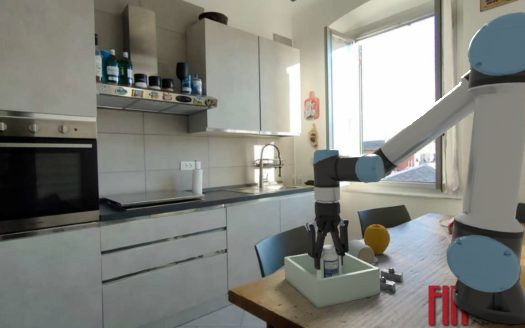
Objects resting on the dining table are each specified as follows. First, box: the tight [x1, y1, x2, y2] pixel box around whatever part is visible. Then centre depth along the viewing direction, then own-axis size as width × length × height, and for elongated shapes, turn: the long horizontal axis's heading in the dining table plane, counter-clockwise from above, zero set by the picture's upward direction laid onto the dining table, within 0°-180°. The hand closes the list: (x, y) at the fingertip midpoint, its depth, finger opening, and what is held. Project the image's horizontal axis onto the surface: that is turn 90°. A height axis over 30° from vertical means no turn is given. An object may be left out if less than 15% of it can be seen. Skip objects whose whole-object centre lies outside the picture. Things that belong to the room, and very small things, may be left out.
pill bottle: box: [321, 244, 338, 278], centre depth 86 cm, size 5×5×10 cm
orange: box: [363, 223, 391, 256], centre depth 113 cm, size 10×10×12 cm
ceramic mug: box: [347, 239, 379, 265], centre depth 104 cm, size 11×8×8 cm
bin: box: [283, 251, 381, 310], centre depth 86 cm, size 20×20×7 cm
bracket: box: [380, 267, 404, 293], centre depth 87 cm, size 11×6×3 cm, turn 140°
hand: (329, 277), depth 86 cm, fingers closed on pill bottle, 5 cm apart
